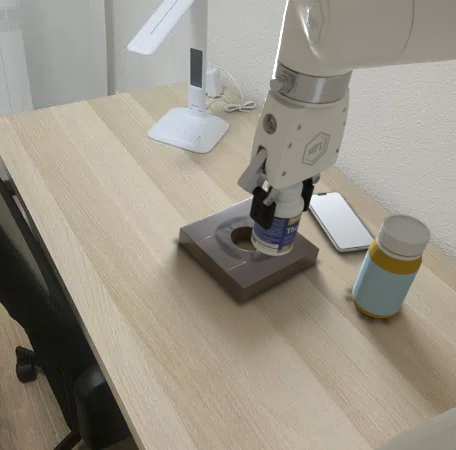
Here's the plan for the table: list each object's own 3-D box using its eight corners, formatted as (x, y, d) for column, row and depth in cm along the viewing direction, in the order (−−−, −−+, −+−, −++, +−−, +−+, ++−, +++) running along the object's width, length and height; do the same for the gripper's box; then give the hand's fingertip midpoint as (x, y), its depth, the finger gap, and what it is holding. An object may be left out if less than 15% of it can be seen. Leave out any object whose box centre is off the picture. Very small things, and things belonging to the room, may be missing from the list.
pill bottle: (286, 262, 68) (303, 201, 62) (245, 248, 70) (257, 187, 63) (297, 236, 72) (314, 176, 65) (258, 224, 73) (270, 163, 67)
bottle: (359, 279, 87) (388, 205, 77) (404, 299, 84) (440, 225, 74) (343, 306, 83) (372, 231, 73) (389, 328, 80) (425, 253, 70)
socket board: (315, 262, 90) (319, 248, 88) (240, 302, 83) (243, 288, 81) (250, 209, 99) (252, 196, 98) (178, 241, 92) (179, 228, 90)
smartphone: (339, 250, 91) (302, 195, 102) (338, 253, 91) (301, 197, 102) (379, 244, 92) (339, 190, 103) (378, 247, 93) (338, 193, 104)
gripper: (274, 116, 50) (246, 259, 62) (395, 72, 57) (349, 207, 69) (221, 82, 54) (204, 221, 66) (339, 46, 62) (305, 176, 74)
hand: (278, 213), depth 67 cm, fingers closed on pill bottle, 5 cm apart
